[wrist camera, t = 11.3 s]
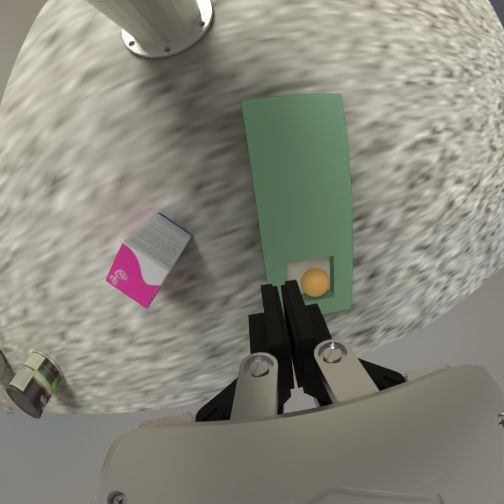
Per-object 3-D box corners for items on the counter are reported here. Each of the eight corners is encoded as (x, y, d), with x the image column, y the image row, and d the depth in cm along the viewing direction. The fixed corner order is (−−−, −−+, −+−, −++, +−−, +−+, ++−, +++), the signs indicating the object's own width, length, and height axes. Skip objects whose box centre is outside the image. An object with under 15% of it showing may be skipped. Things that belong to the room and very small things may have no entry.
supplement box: (157, 210, 35) (123, 239, 24) (193, 234, 36) (173, 273, 26) (139, 243, 36) (103, 281, 26) (172, 266, 38) (149, 311, 27)
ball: (307, 302, 35) (299, 296, 39) (335, 296, 35) (325, 290, 39) (302, 272, 35) (295, 269, 39) (331, 266, 35) (322, 264, 39)
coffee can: (64, 366, 47) (39, 409, 34) (61, 385, 50) (40, 423, 37) (31, 342, 45) (3, 380, 32) (31, 363, 48) (7, 398, 35)
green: (241, 103, 30) (240, 100, 27) (334, 96, 29) (340, 93, 27) (270, 312, 41) (272, 322, 39) (345, 300, 41) (350, 309, 38)
